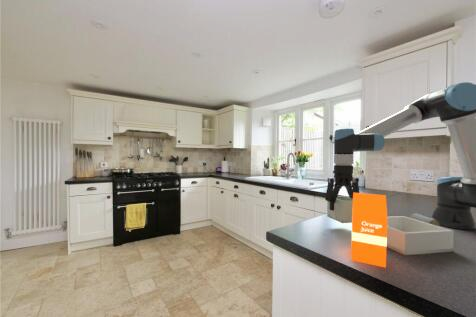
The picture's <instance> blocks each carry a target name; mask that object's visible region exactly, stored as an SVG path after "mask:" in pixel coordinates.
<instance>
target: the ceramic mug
mask: <svg viewBox="0 0 476 317" xmlns="http://www.w3.org/2000/svg"><path fill="white" fill-rule="evenodd" d="M409 218H412V219H415V220H419V221H422V222H425V223H429V224H432V225H436V226H439V227H441V225H440V224H439V222H438V221H437V220H435V219H433V218H432V217H429V216H425V215H423V214H420V213H416V212H415V213H412V214H411V215H410V216H409Z"/></svg>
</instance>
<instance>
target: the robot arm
mask: <svg viewBox="0 0 476 317" xmlns="http://www.w3.org/2000/svg"><path fill="white" fill-rule="evenodd" d="M433 118H434V119H435V118H439V120H440V122H441V123H443V124H446V126H447V128H448V132H449V135H450V137H451V138H450V139H451V141H452V144H453V147H454V150H455V153H456V157H457V159H458V161H459V166H460V168H461V171H462V174H463V176H440V177H439V178H438V179H437V184H436V207H435V209H434V211H433V214H432V215H431V218H433V219H435V220H437V221H438V222H439V224H440V226H444V227H448V228H453V229H459V230H467V231H468V230H471V231H472V230H473V231H474V230H476V221H475V218H474V215H473V213H472V208H474V209H476V84H475V83H472V82H465V81H464V82H459V83H455V84H451V85H449V86H447V87H446V86H445V87H444V88H440V89H439V90H438V89H437V90H436V91H435V90H434V91H432V92H429V93H428V94H425V95H424V96H421V97H420V98H418V99H417V100H415V101H413V102H411V103H410V104H408V105H406V106H405V107H404V108H403V109H402V110H401V111H399V112H397V113H394V114H393V115H391V116H389V117H386V118H385V119H382V120H381V121H378V122H377V123H375V124H372V125H371V126H369V127H367V128H365V129H363V130H361V131H359V132H357V133H355V130H354V128H350V127H344V128H342V127H340V128H337V129H335V130H334V136H333V147H334V148H333V151H334V152H333V163H334V164H333V173H334V175H333V177H328V178H327V186H326V192H325V193H326V194H325V199H324V200H325V201H326V202H327V201H329V202H330V210H331V217H332V218H334V219H336V215H337V203H335V201H336V198H337V196H339V193H340V190H341V189H342V188H343V187H344V189H346V192H347V195H348V197H349V198H353V192H354V193H361V192H360V186H359V183H360V182H359V181H360V178H359V177H353V174H354V165H353V164H354V155H355V154H354V152H355V153H356V152H379V151H382V150H383V148H384V147H385V141H386V139H385V137H387V136H390V135H391V134H394V133H395V132H397V131H399V130H402V129H403V128H405V127H407V126H410V125H411V124H418V123H421V122H423V121H425V120H429V119H433ZM332 218H331V219H332ZM334 219H333V220H334Z"/></svg>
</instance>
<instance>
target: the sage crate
mask: <svg viewBox="0 0 476 317" xmlns="http://www.w3.org/2000/svg"><path fill="white" fill-rule="evenodd" d="M326 202H327V204H326V205H327V206H326V207H327V211H326V212H327V216H326V217H327V218H330V219H333V220H334V221H337V222H338V223H341V224H349V223H351V224H352V209H353V198H349V196H346V195H345V196H344V195H338V196H337V198H336V201H335V203H337V215H336V219H334V218H332V217H331V210H330V202H329V201H326Z"/></svg>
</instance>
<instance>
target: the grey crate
mask: <svg viewBox="0 0 476 317" xmlns="http://www.w3.org/2000/svg"><path fill="white" fill-rule="evenodd" d="M387 217H388V218H387V249H391V250H393V251H394V252H397V253H398V254H401V255H403V256H413V255H424V254H425V255H426V254H427V255H428V254H436V253H448V252H451V253H452V252H454V236H455V235H454V234H455V231H454V230H452V229H449V228H446V227H442V226H440V227H439V226H436V225H432V224H429V223H425V222H422V221H419V220H415V219H412V218H410V217H408V216H405V215H400V216H399V215H395V216H394V215H393V216H387Z"/></svg>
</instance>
